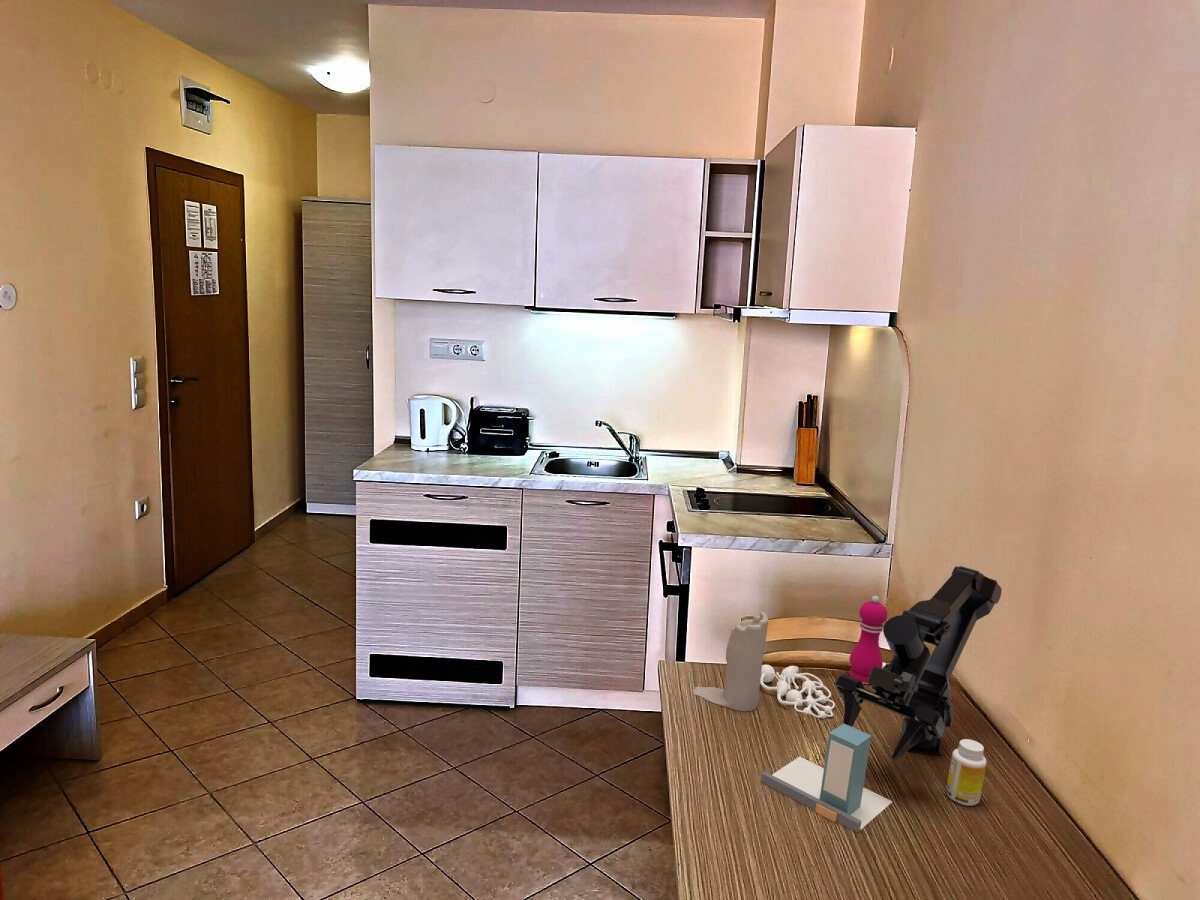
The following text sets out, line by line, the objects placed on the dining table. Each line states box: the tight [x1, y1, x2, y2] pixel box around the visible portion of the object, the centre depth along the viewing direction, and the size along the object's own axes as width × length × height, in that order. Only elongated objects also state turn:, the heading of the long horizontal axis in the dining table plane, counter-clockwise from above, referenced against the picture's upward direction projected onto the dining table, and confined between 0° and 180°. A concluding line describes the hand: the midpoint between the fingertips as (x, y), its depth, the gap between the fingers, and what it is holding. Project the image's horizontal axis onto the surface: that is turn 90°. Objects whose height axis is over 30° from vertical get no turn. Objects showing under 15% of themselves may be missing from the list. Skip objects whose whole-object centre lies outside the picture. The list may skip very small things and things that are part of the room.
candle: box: [692, 611, 769, 712], centre depth 180 cm, size 7×14×20 cm, turn 65°
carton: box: [820, 723, 872, 815], centre depth 143 cm, size 5×5×13 cm
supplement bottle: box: [945, 738, 987, 807], centre depth 152 cm, size 6×6×10 cm
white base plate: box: [760, 756, 893, 833], centre depth 148 cm, size 13×18×3 cm
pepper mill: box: [848, 595, 888, 682], centre depth 195 cm, size 7×7×20 cm
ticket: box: [814, 803, 837, 823], centre depth 141 cm, size 1×4×2 cm, turn 46°
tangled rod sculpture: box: [760, 664, 836, 720], centre depth 185 cm, size 19×14×4 cm
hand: (867, 747), depth 149 cm, fingers open, 9 cm apart
